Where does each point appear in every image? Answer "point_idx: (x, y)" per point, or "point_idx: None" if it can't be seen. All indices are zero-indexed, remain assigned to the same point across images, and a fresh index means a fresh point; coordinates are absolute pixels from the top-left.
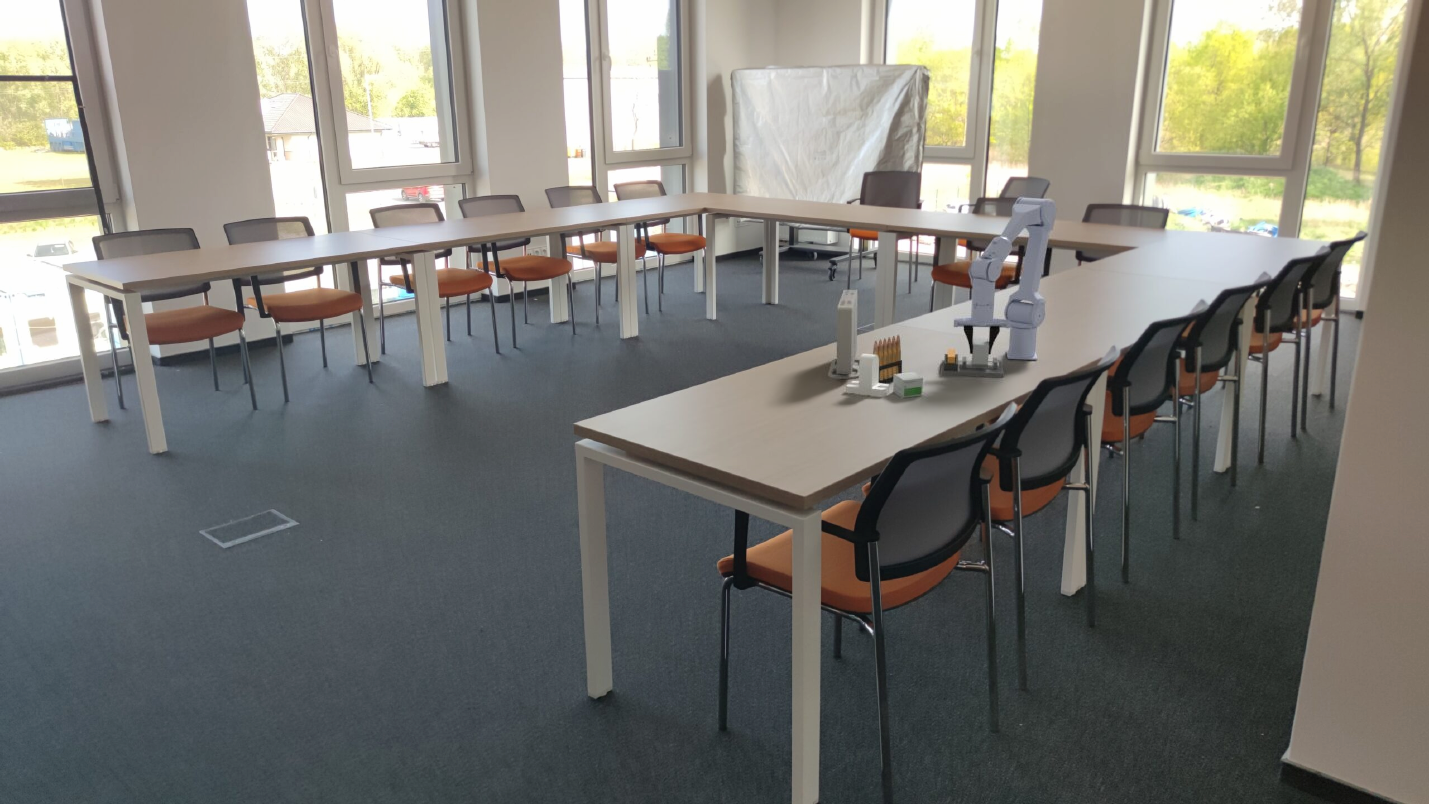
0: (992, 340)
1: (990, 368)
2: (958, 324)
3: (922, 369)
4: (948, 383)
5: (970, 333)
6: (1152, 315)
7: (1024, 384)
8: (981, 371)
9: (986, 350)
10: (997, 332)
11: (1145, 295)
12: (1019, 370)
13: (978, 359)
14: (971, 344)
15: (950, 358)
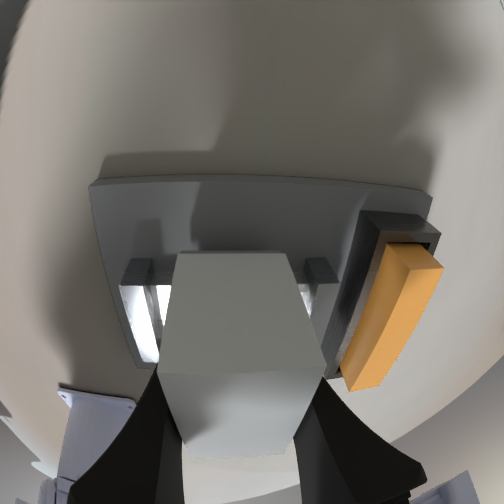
0: (137, 435)
1: (167, 272)
2: (437, 501)
3: (448, 267)
4: (413, 44)
5: (370, 475)
6: (45, 467)
7: (11, 75)
8: (220, 212)
9: (184, 332)
10: (76, 498)
11: None
12: (59, 300)
13: (248, 274)
14: (317, 396)
15: (427, 262)
